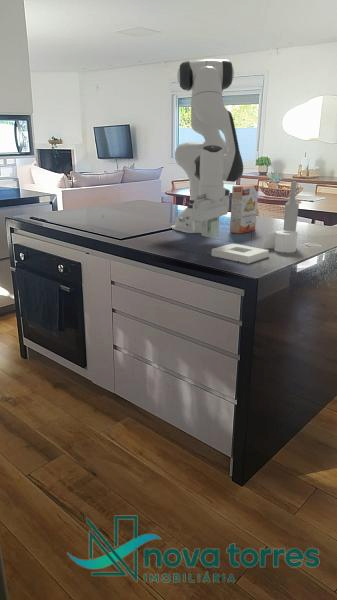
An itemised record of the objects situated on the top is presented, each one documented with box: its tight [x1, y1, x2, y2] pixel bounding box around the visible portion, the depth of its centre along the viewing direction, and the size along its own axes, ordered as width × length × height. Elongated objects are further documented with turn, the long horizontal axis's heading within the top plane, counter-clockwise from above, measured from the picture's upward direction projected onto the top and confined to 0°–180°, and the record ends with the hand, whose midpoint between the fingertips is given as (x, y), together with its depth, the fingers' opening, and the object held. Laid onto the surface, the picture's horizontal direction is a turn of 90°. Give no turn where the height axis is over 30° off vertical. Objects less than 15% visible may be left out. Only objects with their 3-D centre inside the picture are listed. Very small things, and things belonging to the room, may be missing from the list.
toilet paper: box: [262, 229, 299, 254], centre depth 171 cm, size 8×11×7 cm
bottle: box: [282, 181, 300, 232], centre depth 175 cm, size 5×5×25 cm
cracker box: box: [229, 183, 260, 235], centre depth 204 cm, size 14×6×21 cm, turn 140°
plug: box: [201, 219, 220, 239], centre depth 168 cm, size 5×4×6 cm
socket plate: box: [211, 243, 270, 264], centre depth 163 cm, size 16×13×2 cm
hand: (210, 230), depth 168 cm, fingers closed on plug, 4 cm apart
